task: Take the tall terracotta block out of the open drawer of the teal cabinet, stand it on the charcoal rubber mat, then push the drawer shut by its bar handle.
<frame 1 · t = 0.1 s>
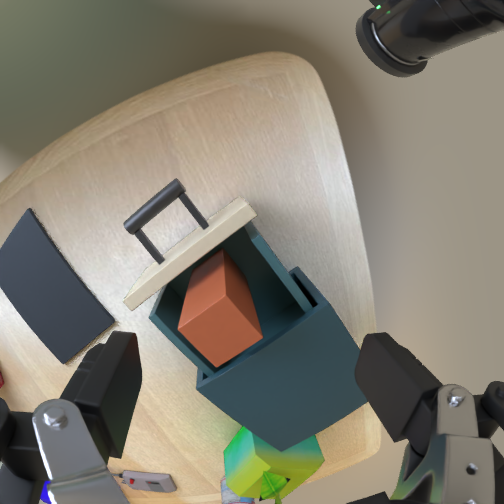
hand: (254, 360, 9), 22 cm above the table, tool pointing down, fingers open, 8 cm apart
cubic fruit with leaf: (265, 431, 39), on the table
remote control: (145, 478, 41), on the table
drawer: (214, 278, 26), point 5 cm above the table, slide at 9.0 cm, touching block
mat: (43, 292, 29), on the table
cabinet: (281, 342, 35), on the table
pill bottle: (235, 478, 43), on the table
block: (219, 273, 29), point 2 cm above the table, touching drawer
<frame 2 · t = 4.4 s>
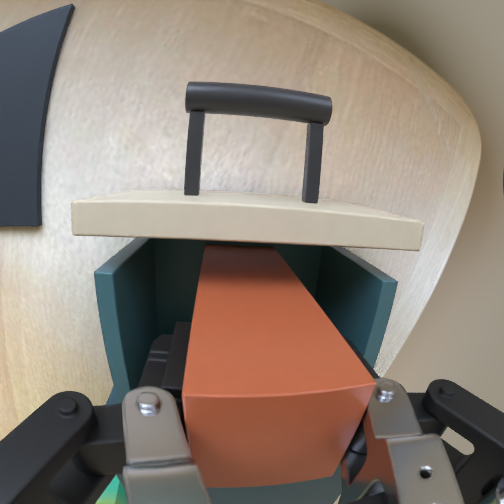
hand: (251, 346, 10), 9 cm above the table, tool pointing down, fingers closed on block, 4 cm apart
cubic fruit with leaf: (128, 468, 24), on the table
drawer: (243, 286, 14), point 5 cm above the table, slide at 9.0 cm, touching block
cabinet: (229, 405, 22), on the table
block: (238, 278, 17), point 2 cm above the table, touching drawer, gripper
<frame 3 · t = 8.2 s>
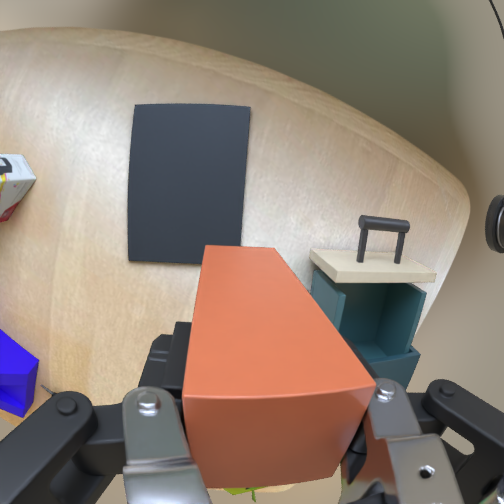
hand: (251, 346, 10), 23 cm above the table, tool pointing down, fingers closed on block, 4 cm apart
drawer: (367, 295, 31), point 5 cm above the table, slide at 9.0 cm
ink box: (14, 188, 27), on the table
mat: (185, 183, 30), on the table
cabinet: (331, 363, 39), on the table
block: (238, 279, 17), point 16 cm above the table, touching gripper
when the fingers open (8 cm above the table, at t = 11.9 s): block stays where it is, resting on mat.
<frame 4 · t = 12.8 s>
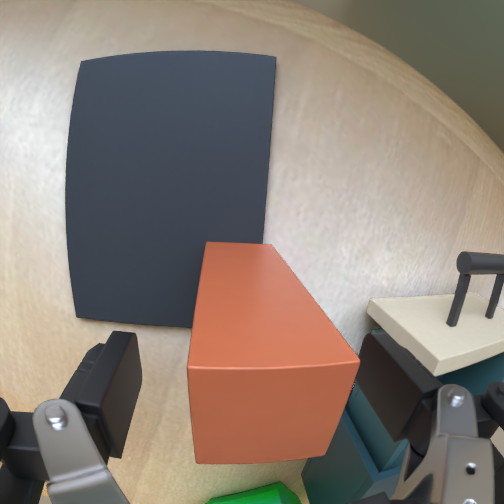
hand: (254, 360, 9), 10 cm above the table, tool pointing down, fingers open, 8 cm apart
cubic fruit with leaf: (255, 498, 27), on the table
drawer: (444, 364, 17), point 5 cm above the table, slide at 9.0 cm
mat: (159, 188, 16), on the table
cabinet: (371, 431, 25), on the table
block: (237, 274, 18), point 1 cm above the table, touching mat
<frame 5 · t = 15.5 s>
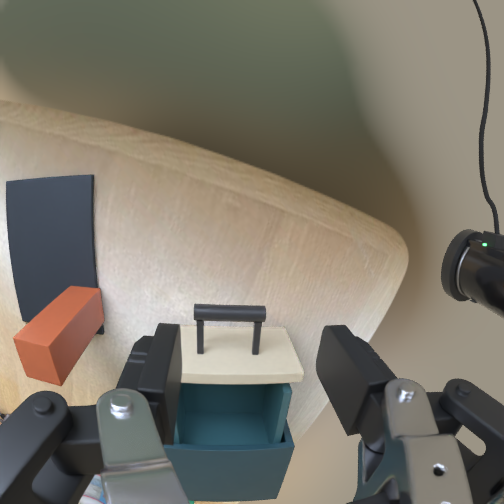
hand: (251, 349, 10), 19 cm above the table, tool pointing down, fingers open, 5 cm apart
drawer: (226, 381, 27), point 5 cm above the table, slide at 9.0 cm
mat: (49, 256, 26), on the table
cabinet: (222, 424, 35), on the table
pill bottle: (99, 476, 38), on the table
block: (87, 303, 28), point 1 cm above the table, touching mat
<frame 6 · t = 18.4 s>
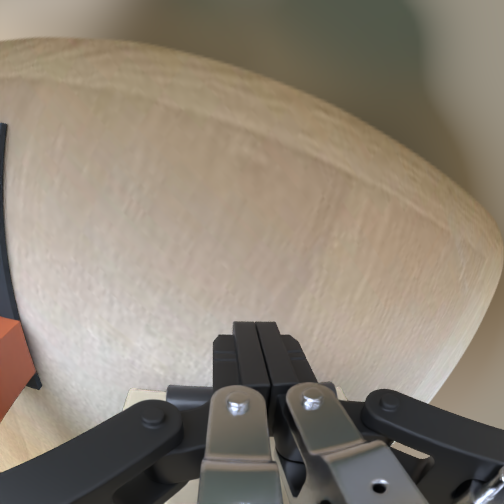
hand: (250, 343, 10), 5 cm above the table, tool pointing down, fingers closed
drawer: (240, 484, 12), point 5 cm above the table, slide at 9.0 cm, touching gripper
block: (8, 342, 13), point 1 cm above the table, touching mat
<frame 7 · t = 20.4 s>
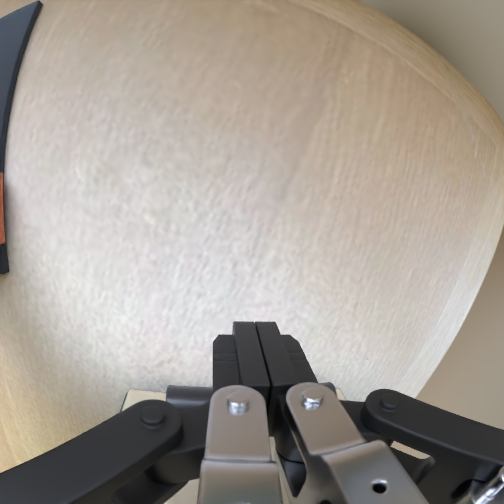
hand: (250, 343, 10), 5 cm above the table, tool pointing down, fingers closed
drawer: (240, 485, 12), point 5 cm above the table, slide at 0.0 cm, touching cabinet, gripper
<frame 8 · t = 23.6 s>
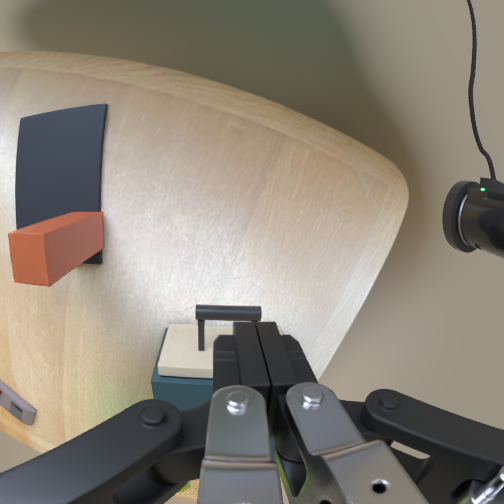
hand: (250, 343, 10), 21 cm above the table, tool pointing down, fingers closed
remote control: (11, 397, 33), on the table
drawer: (225, 376, 29), point 5 cm above the table, slide at 0.0 cm, touching cabinet
mat: (54, 185, 26), on the table
cabinet: (223, 376, 35), on the table
block: (88, 229, 28), point 1 cm above the table, touching mat
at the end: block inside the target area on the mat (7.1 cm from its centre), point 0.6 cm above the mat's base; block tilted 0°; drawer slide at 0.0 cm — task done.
